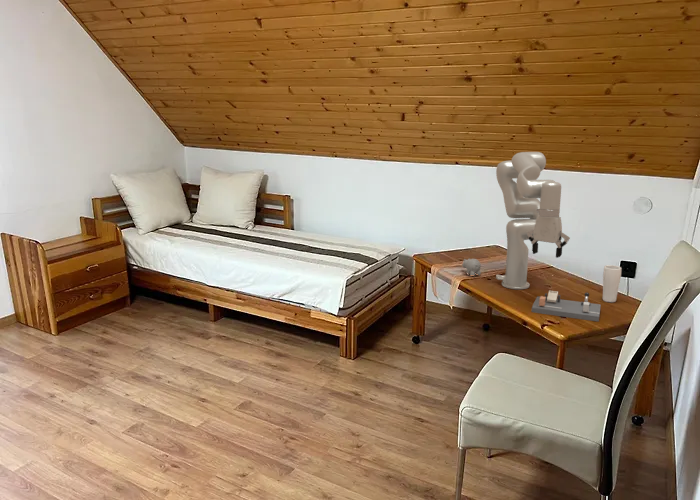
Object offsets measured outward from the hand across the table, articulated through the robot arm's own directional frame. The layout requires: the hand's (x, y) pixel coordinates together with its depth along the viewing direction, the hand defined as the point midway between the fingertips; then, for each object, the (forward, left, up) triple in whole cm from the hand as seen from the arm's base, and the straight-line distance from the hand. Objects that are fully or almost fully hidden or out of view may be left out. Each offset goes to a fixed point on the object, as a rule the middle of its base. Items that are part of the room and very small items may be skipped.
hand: (546, 255), depth 218 cm
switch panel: (+9, +1, -23) cm, 25 cm away
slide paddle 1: (0, -3, -20) cm, 20 cm away
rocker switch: (+3, +5, -19) cm, 20 cm away
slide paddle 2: (+17, -3, -20) cm, 26 cm away
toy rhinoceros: (-39, +36, -23) cm, 58 cm away
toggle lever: (+16, +5, -20) cm, 26 cm away
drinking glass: (+25, +21, -23) cm, 40 cm away
